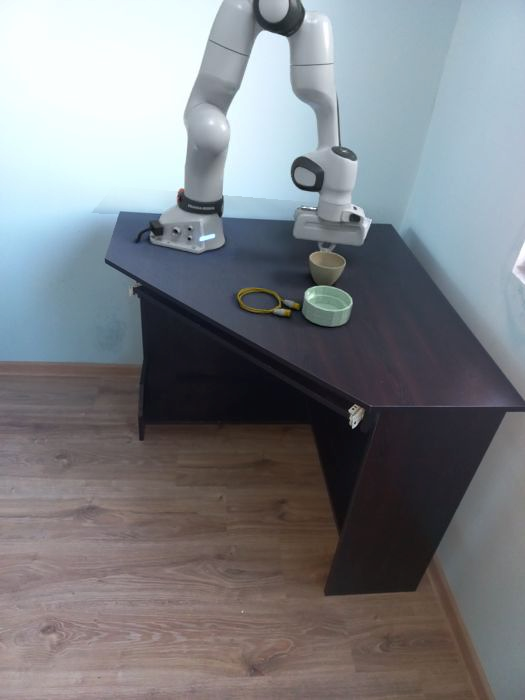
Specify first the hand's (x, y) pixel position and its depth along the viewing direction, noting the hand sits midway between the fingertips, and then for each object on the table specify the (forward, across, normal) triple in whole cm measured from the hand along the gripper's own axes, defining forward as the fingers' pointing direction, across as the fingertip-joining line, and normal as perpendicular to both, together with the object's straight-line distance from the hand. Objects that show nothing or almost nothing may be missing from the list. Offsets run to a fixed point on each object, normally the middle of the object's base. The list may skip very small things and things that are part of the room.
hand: (324, 254), depth 156 cm
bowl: (+4, 0, -27) cm, 27 cm away
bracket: (+4, +8, +25) cm, 27 cm away
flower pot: (+4, 0, -10) cm, 11 cm away
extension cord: (+4, -15, -26) cm, 30 cm away
